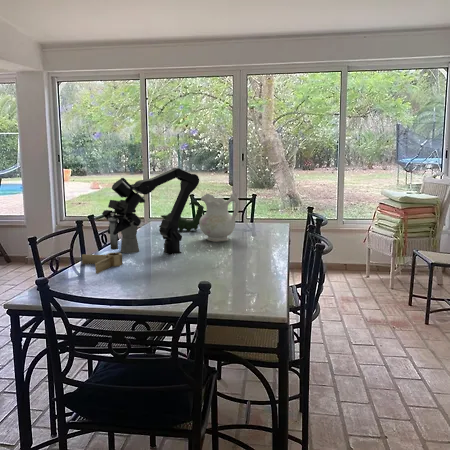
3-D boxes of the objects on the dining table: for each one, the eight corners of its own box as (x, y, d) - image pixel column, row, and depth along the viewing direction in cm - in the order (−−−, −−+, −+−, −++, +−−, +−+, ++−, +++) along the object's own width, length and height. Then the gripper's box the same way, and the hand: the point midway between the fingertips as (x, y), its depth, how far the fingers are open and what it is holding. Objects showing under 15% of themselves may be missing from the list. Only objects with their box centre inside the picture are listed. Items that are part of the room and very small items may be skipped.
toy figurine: (202, 232, 273) (161, 228, 273) (205, 200, 269) (163, 197, 270) (200, 235, 263) (158, 231, 264) (203, 202, 260) (160, 198, 261)
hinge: (113, 259, 201) (113, 249, 201) (129, 268, 186) (129, 257, 185) (82, 263, 194) (81, 253, 193) (96, 273, 179) (95, 262, 178)
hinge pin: (117, 247, 193) (115, 217, 191) (120, 248, 190) (118, 218, 188) (108, 248, 191) (106, 218, 189) (111, 250, 188) (110, 219, 186)
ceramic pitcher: (241, 238, 250) (241, 193, 248) (238, 243, 231) (238, 194, 229) (202, 238, 253) (202, 193, 250) (196, 242, 233) (196, 194, 231)
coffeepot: (144, 252, 214) (143, 214, 211) (125, 255, 209) (124, 216, 206) (132, 246, 226) (130, 210, 223) (113, 248, 221) (112, 212, 218)
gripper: (104, 191, 195) (84, 220, 188) (134, 193, 184) (114, 224, 178) (119, 207, 203) (100, 235, 196) (149, 210, 192) (130, 240, 185)
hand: (111, 233), depth 188 cm, fingers closed on hinge pin, 3 cm apart
